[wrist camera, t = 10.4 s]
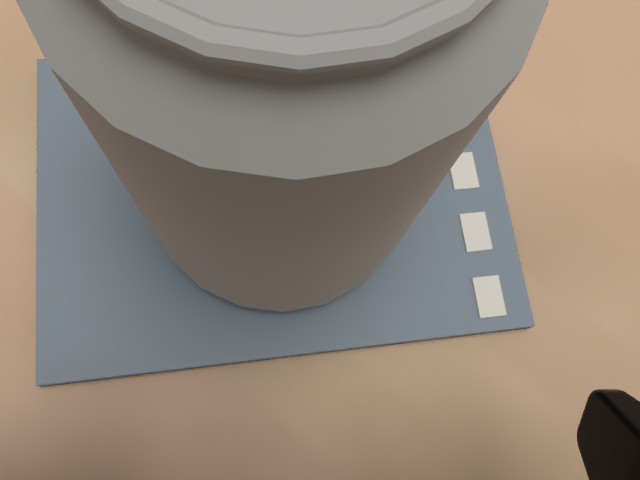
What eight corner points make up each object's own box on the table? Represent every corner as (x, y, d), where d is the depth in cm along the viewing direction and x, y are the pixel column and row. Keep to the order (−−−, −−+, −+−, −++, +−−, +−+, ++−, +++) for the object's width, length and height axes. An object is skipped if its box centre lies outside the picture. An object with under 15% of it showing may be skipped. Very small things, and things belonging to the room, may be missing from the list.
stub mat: (41, 386, 17) (34, 385, 16) (41, 66, 19) (36, 57, 19) (528, 328, 18) (536, 325, 18) (464, 39, 21) (469, 30, 20)
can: (102, 169, 18) (-192, -269, 7) (301, 43, 20) (341, -476, 8) (253, 372, 17) (214, 265, 5) (452, 217, 18) (748, -116, 7)
